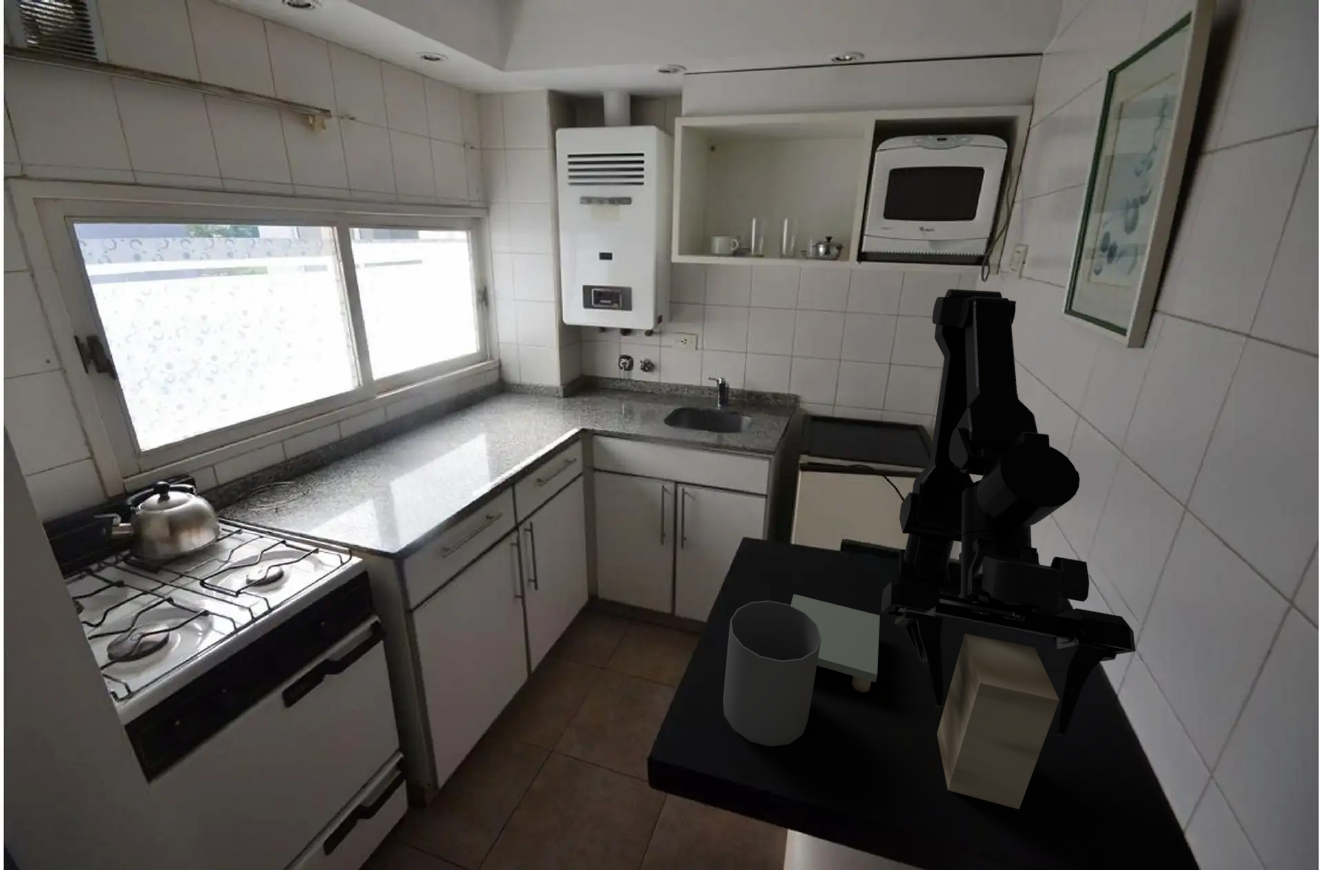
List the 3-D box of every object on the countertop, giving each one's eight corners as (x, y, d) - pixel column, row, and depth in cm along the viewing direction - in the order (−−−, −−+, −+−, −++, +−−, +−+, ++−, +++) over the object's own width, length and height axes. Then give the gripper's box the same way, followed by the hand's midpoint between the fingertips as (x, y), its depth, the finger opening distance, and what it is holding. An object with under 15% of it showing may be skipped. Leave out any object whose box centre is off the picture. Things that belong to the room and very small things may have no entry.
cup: (715, 732, 53) (723, 648, 50) (729, 670, 61) (736, 594, 57) (806, 755, 51) (820, 670, 48) (809, 688, 59) (821, 610, 55)
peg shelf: (790, 614, 70) (793, 594, 69) (875, 636, 67) (879, 615, 66) (776, 668, 61) (778, 646, 60) (872, 697, 58) (877, 674, 57)
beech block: (936, 733, 54) (964, 633, 50) (1000, 749, 52) (1034, 647, 48) (947, 789, 49) (980, 682, 44) (1019, 809, 47) (1059, 700, 43)
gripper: (908, 497, 48) (898, 690, 42) (1164, 534, 44) (1194, 758, 37) (885, 532, 58) (874, 693, 52) (1092, 566, 53) (1107, 747, 47)
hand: (997, 719), depth 47 cm, fingers open, 9 cm apart
